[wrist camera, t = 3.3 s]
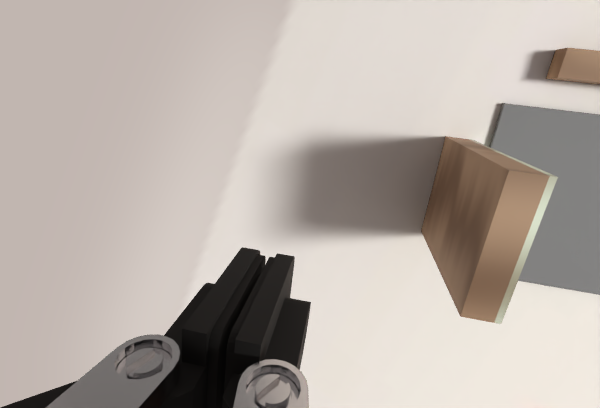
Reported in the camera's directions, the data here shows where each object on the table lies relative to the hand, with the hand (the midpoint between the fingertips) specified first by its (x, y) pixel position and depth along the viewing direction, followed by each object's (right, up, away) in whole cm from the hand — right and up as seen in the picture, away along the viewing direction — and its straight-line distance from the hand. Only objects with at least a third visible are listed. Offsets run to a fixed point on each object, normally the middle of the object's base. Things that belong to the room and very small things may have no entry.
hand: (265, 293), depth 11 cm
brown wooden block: (+11, +4, +13) cm, 18 cm away
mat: (+19, +3, +12) cm, 23 cm away
